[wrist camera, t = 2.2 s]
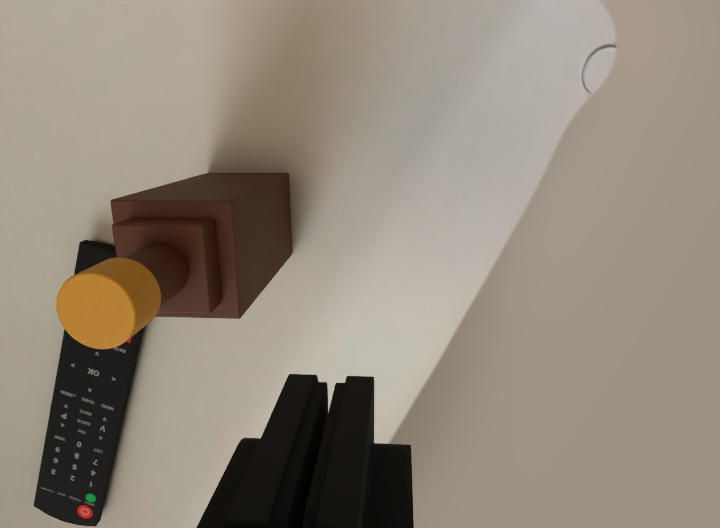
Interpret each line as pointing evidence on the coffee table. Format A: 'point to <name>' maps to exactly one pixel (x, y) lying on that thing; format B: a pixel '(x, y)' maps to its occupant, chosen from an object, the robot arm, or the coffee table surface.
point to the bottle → (182, 256)
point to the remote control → (85, 418)
